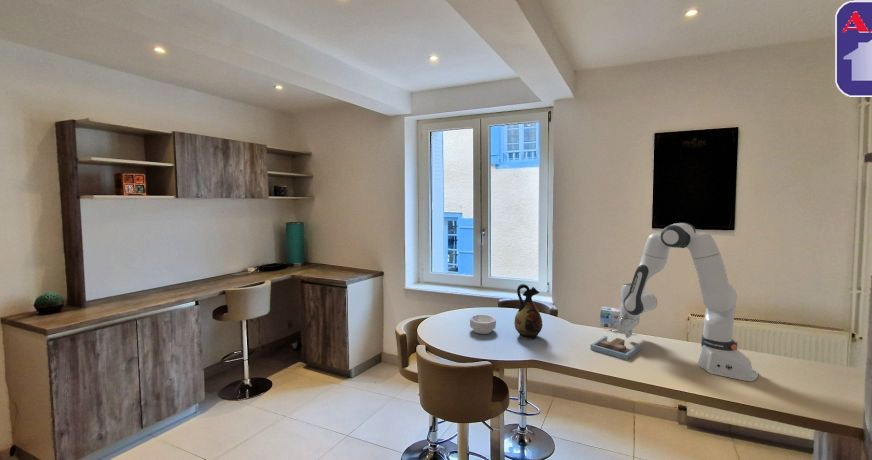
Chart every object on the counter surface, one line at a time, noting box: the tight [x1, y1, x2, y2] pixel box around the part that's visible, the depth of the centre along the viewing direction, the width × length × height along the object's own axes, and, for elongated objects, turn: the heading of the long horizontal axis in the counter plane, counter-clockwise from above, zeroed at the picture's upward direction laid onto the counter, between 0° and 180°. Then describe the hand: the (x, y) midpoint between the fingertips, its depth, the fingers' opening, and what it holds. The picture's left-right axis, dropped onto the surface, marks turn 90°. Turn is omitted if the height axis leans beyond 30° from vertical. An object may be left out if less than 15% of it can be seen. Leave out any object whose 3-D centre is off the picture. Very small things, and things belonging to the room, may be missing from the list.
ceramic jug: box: [513, 283, 543, 340], centre depth 226 cm, size 17×15×30 cm
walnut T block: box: [599, 337, 627, 354], centre depth 208 cm, size 12×12×4 cm
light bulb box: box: [599, 306, 621, 330], centre depth 242 cm, size 11×7×11 cm, turn 62°
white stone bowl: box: [469, 314, 497, 335], centre depth 237 cm, size 15×15×8 cm
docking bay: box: [590, 335, 641, 361], centre depth 208 cm, size 18×17×2 cm
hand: (628, 337), depth 219 cm, fingers closed
